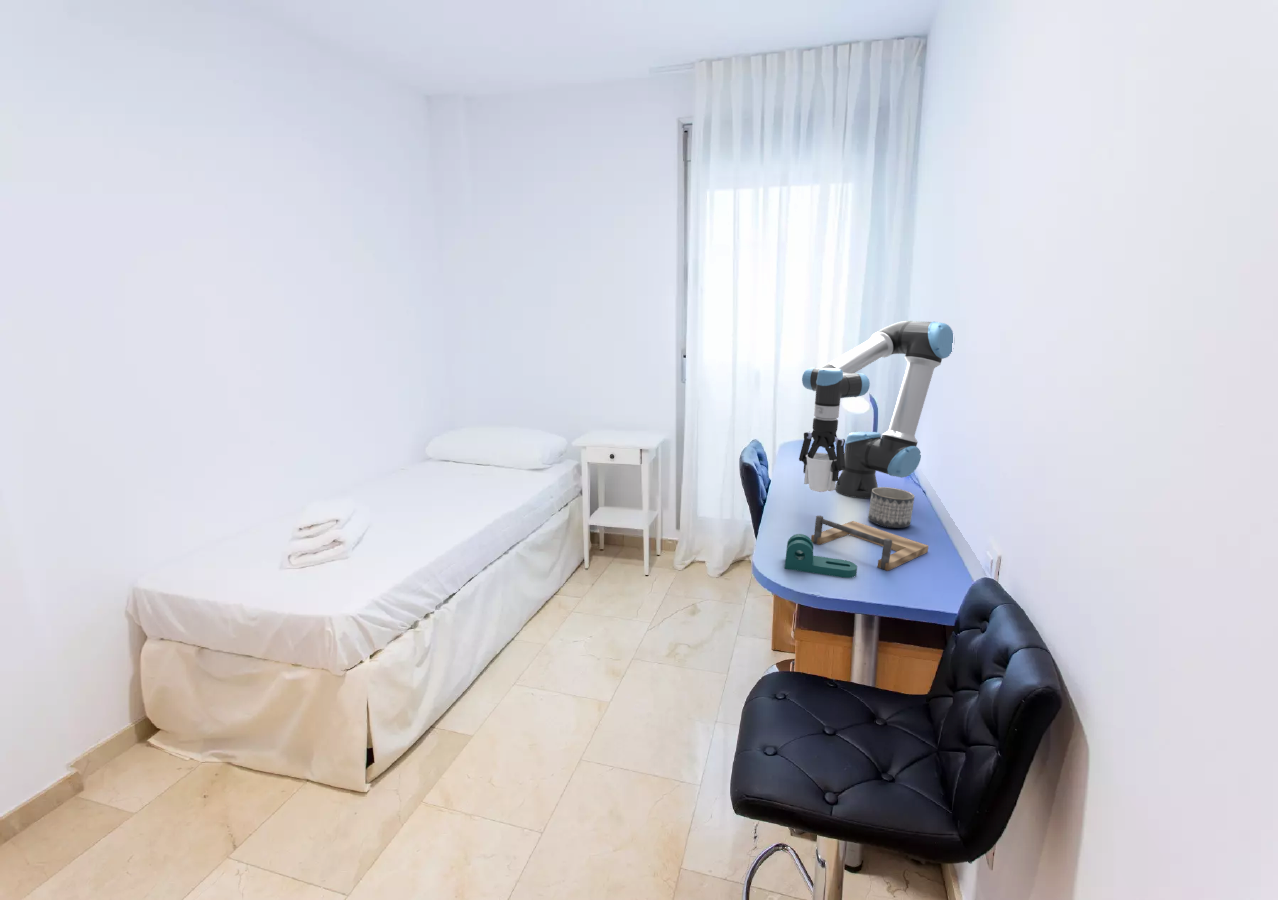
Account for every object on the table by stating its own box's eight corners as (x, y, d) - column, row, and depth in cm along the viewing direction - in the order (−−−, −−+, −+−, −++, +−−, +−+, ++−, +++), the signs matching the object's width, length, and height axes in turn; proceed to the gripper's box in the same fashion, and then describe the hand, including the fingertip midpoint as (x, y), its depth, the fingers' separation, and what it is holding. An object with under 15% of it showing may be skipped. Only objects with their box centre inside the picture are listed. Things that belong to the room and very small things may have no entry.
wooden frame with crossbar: (852, 526, 190) (855, 502, 188) (927, 552, 172) (931, 525, 170) (810, 541, 176) (813, 516, 175) (887, 571, 158) (891, 542, 157)
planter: (864, 515, 202) (868, 485, 199) (905, 519, 199) (909, 489, 197) (871, 528, 190) (875, 496, 187) (913, 532, 187) (918, 501, 185)
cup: (796, 486, 198) (799, 454, 195) (820, 483, 202) (823, 451, 199) (816, 495, 189) (819, 461, 186) (841, 492, 193) (844, 459, 190)
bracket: (784, 569, 157) (787, 541, 156) (785, 559, 164) (788, 532, 162) (857, 580, 153) (861, 551, 151) (855, 569, 159) (859, 541, 157)
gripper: (790, 413, 195) (785, 480, 201) (849, 425, 179) (841, 497, 185) (804, 411, 200) (799, 477, 205) (862, 422, 184) (855, 492, 190)
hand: (819, 486), depth 195 cm, fingers closed on cup, 8 cm apart
